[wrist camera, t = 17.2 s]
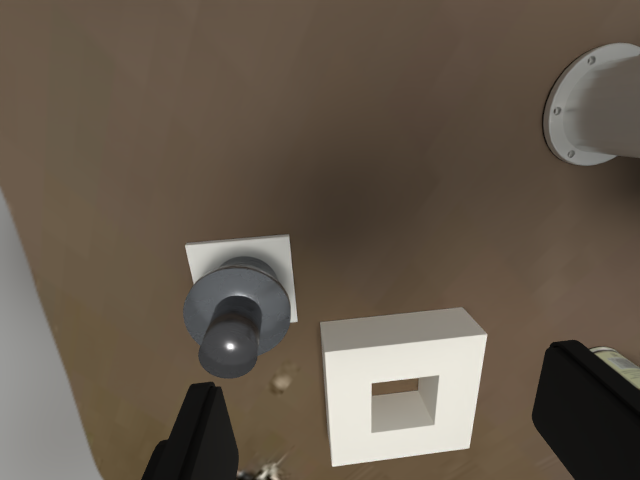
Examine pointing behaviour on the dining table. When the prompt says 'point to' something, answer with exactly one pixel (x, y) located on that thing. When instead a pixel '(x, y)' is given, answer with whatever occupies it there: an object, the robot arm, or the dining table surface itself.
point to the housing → (397, 364)
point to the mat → (263, 248)
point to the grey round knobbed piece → (236, 315)
